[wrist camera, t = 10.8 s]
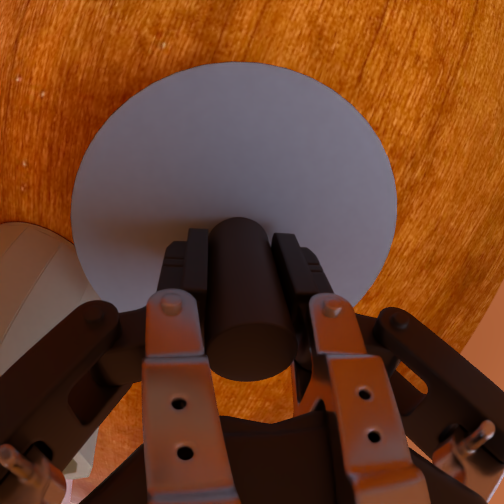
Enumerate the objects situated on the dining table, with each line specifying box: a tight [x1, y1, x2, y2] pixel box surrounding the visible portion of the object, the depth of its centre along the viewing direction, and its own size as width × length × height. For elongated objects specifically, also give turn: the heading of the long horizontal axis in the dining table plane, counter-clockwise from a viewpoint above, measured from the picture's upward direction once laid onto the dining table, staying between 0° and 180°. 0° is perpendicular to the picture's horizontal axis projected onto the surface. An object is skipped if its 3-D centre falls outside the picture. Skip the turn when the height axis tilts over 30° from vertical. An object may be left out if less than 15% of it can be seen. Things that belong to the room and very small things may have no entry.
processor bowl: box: [0, 222, 101, 479], centre depth 14 cm, size 13×13×10 cm
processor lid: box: [71, 62, 397, 382], centre depth 11 cm, size 14×14×7 cm
